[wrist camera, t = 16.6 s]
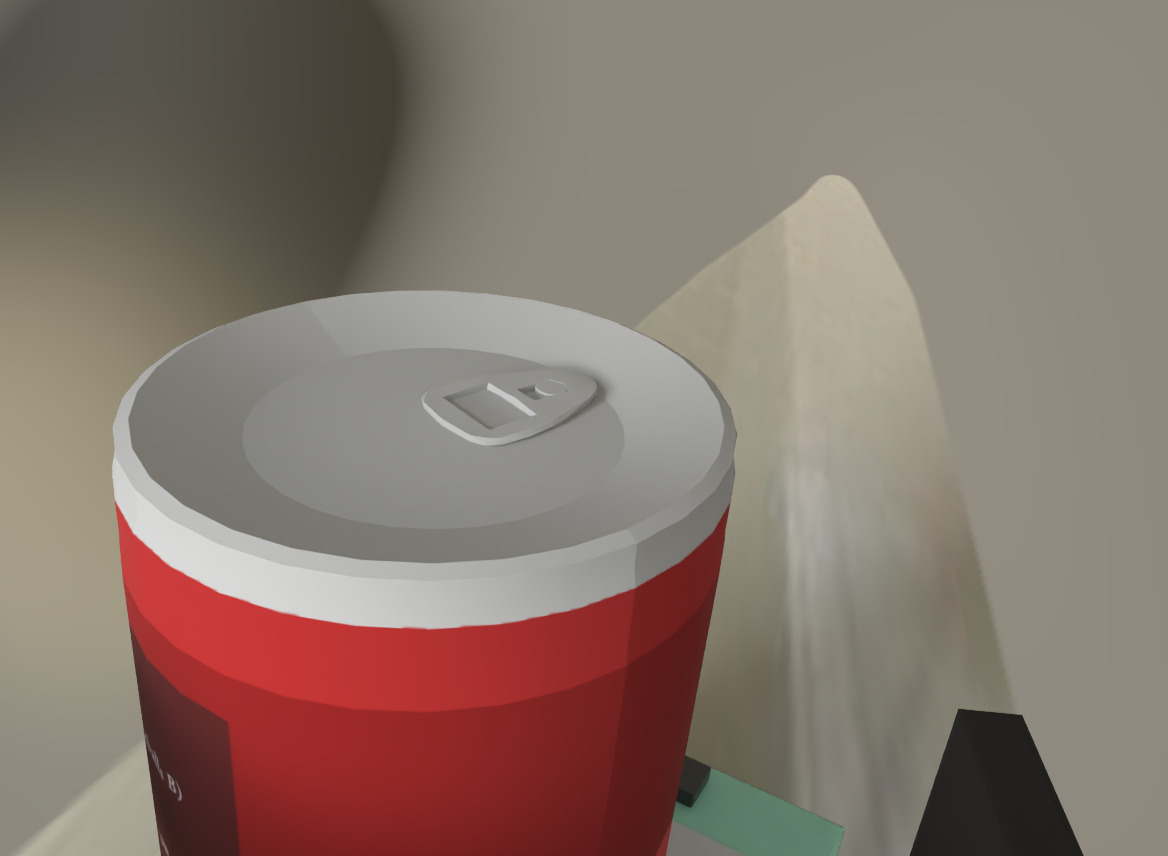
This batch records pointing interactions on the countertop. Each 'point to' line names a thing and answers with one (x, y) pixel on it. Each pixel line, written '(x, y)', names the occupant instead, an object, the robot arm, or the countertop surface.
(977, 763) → the robot arm
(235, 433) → the canned food
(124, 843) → the countertop surface
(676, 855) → the scale
